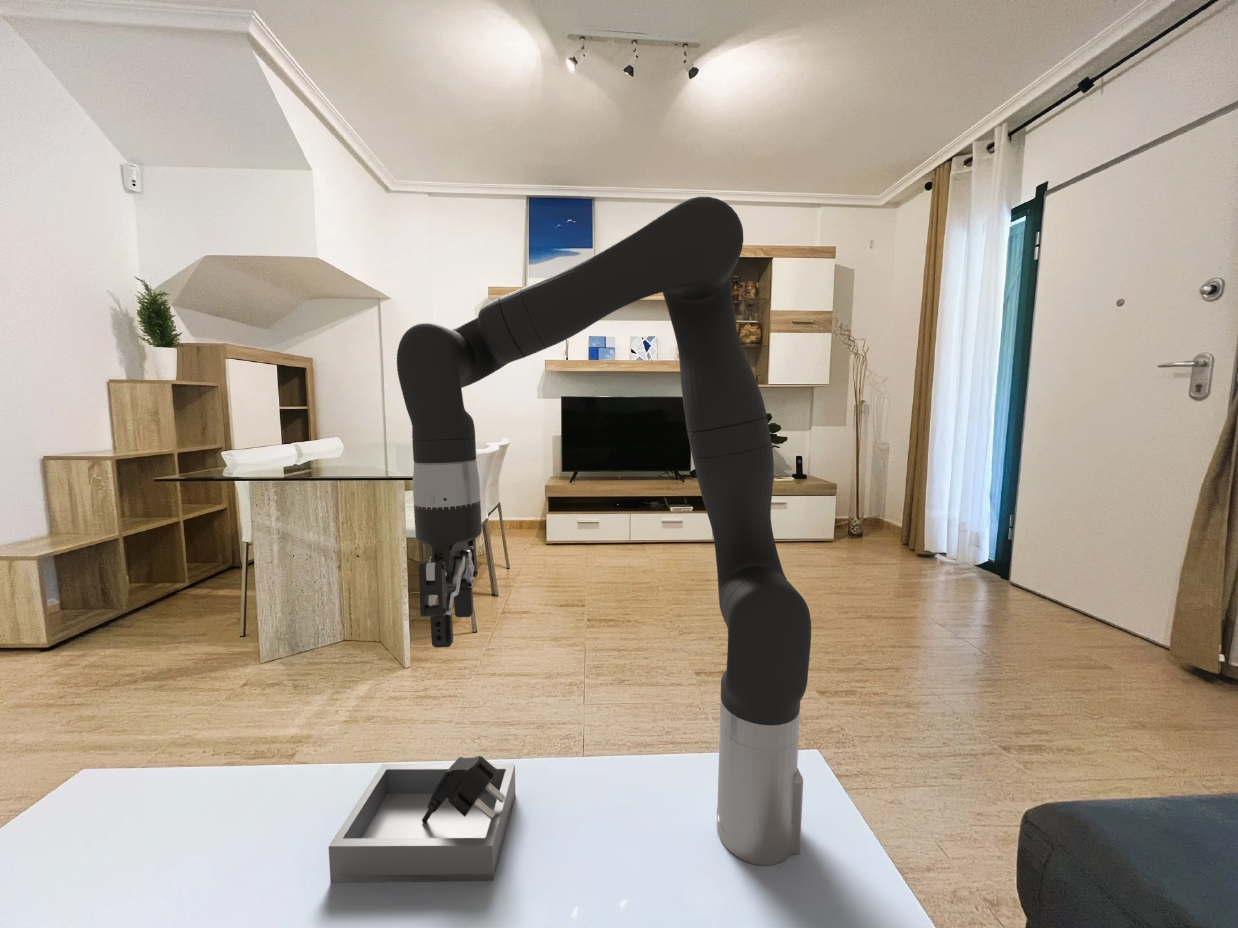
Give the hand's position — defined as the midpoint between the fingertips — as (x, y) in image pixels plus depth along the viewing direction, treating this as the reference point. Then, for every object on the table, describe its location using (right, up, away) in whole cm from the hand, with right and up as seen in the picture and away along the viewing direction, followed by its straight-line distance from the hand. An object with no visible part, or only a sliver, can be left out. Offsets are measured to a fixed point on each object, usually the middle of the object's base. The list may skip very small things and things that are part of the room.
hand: (454, 629), depth 61 cm
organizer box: (-3, -26, +1) cm, 26 cm away
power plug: (-2, -26, +1) cm, 26 cm away
